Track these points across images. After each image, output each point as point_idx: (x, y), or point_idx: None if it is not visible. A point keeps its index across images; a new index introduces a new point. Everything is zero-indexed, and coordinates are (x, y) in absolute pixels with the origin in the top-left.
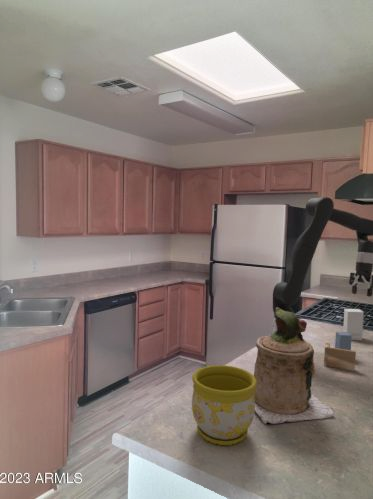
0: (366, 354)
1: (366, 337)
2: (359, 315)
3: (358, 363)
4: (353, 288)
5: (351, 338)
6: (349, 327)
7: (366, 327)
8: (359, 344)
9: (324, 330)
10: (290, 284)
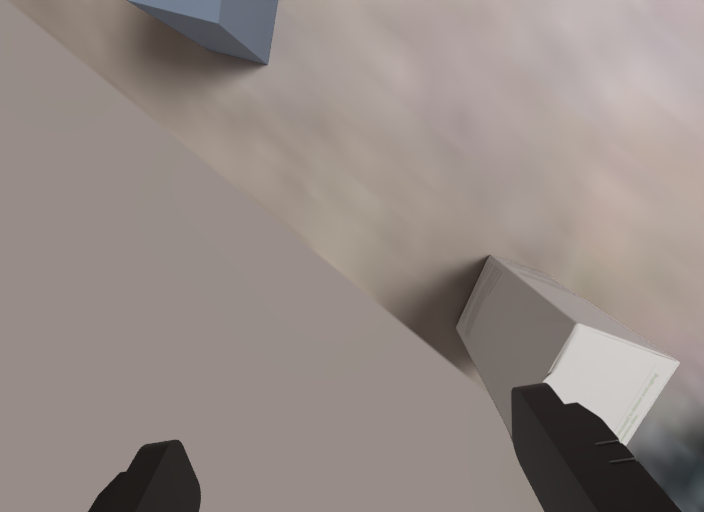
0: (265, 199)
1: None
2: None
3: (148, 55)
4: (589, 478)
5: (140, 8)
6: (509, 288)
7: None
8: (407, 273)
9: (684, 239)
10: None
